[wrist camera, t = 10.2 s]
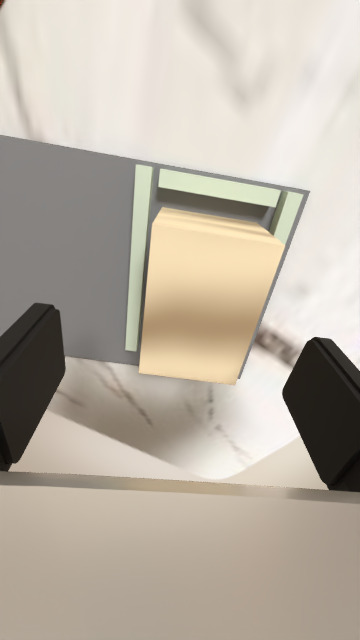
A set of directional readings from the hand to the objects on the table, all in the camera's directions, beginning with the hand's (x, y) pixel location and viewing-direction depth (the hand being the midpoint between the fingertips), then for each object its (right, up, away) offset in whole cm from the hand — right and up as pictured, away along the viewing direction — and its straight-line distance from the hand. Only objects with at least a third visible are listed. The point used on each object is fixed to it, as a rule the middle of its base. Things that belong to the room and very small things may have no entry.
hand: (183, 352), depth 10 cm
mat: (-4, +4, +7) cm, 9 cm away
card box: (+1, +4, +7) cm, 8 cm away
